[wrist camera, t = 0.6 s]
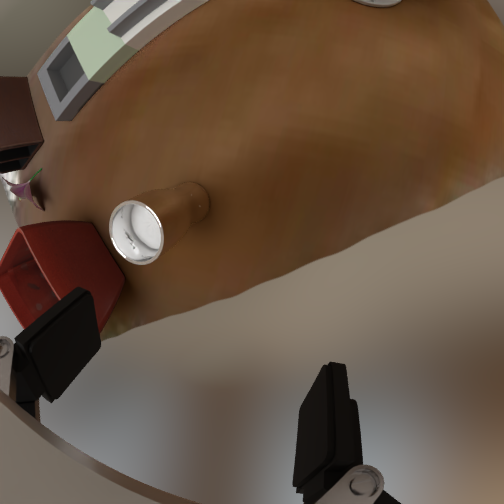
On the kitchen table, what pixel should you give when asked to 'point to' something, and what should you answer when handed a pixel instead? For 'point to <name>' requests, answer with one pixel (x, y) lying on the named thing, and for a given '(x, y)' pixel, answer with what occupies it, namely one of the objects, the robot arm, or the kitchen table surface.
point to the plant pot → (58, 269)
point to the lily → (23, 190)
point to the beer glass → (156, 221)
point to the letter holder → (17, 125)
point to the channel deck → (103, 48)
